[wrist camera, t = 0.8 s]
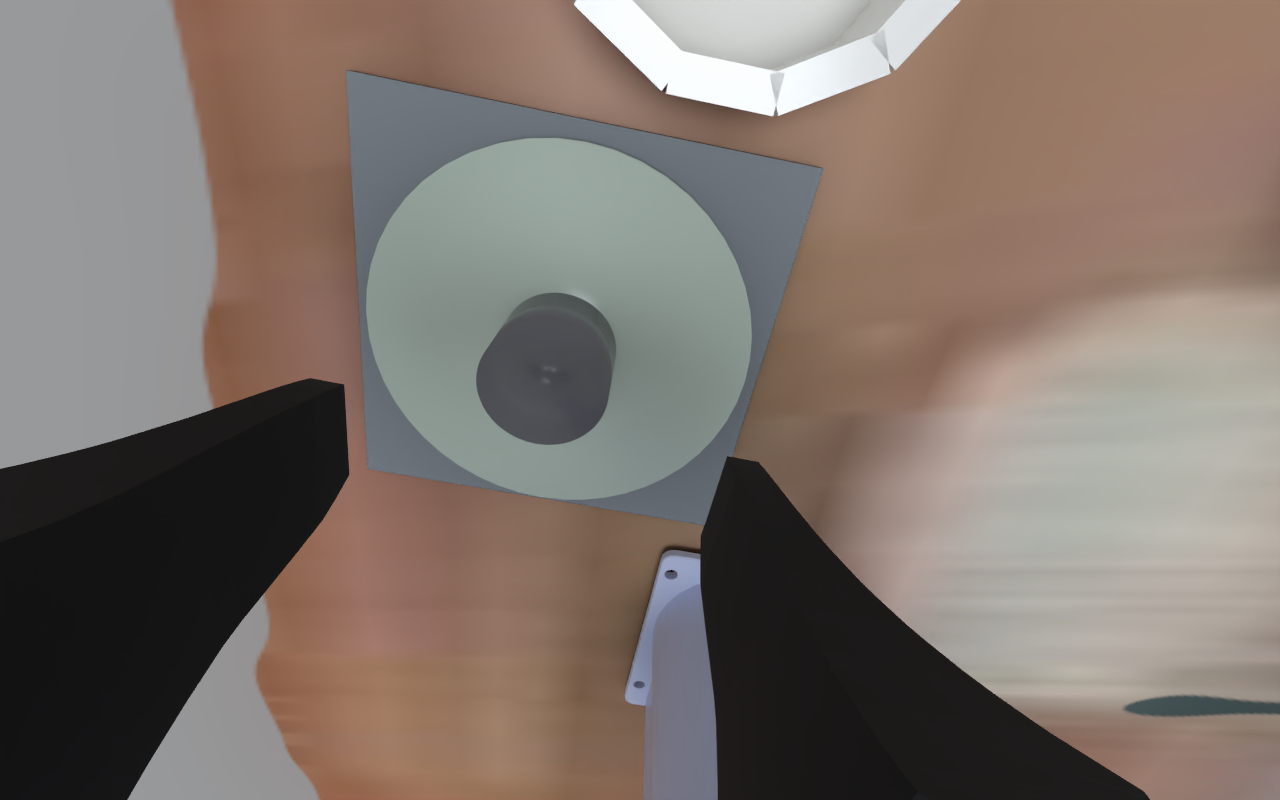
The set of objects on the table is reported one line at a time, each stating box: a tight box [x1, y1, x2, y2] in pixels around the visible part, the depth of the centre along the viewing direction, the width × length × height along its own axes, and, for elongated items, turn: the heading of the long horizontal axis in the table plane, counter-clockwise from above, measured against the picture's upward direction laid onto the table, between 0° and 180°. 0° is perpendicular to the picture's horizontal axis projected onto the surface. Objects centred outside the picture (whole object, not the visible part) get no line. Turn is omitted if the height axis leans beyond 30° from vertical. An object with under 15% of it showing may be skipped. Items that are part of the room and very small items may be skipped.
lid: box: [366, 137, 752, 500], centre depth 17 cm, size 12×12×3 cm
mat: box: [346, 70, 823, 525], centre depth 19 cm, size 13×13×1 cm
